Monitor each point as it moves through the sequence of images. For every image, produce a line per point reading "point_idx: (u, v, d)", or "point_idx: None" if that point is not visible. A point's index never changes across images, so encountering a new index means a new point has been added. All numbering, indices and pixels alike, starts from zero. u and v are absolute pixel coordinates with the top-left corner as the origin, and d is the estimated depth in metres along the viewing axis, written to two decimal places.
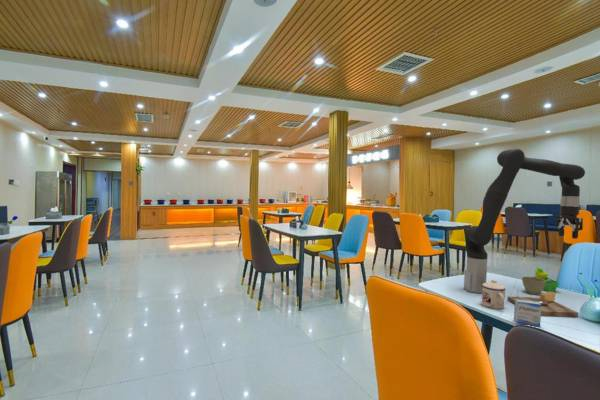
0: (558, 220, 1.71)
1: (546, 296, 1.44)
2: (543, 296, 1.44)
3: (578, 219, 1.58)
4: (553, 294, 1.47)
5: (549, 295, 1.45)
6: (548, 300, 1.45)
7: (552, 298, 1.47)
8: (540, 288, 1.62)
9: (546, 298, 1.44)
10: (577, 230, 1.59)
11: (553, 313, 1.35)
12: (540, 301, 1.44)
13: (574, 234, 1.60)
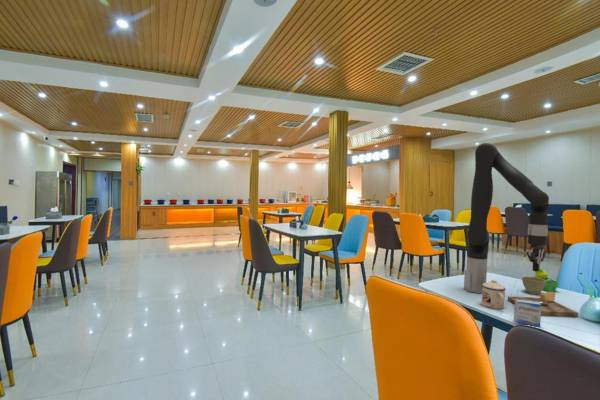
0: None
1: (546, 296, 1.44)
2: (543, 296, 1.44)
3: None
4: (553, 294, 1.47)
5: (549, 295, 1.45)
6: (548, 300, 1.45)
7: (552, 298, 1.47)
8: (540, 288, 1.62)
9: (546, 298, 1.44)
10: None
11: (553, 313, 1.35)
12: (540, 301, 1.44)
13: None
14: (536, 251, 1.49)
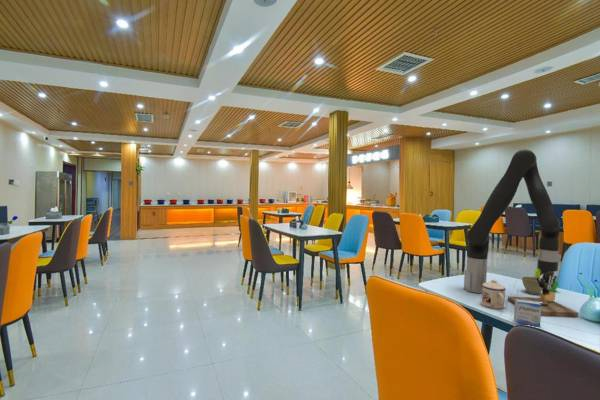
0: None
1: (546, 296, 1.44)
2: (543, 296, 1.44)
3: None
4: (553, 294, 1.47)
5: (549, 295, 1.45)
6: (548, 300, 1.45)
7: (552, 298, 1.47)
8: (540, 288, 1.62)
9: (546, 298, 1.44)
10: None
11: (553, 313, 1.35)
12: (540, 301, 1.44)
13: None
14: (546, 277, 1.47)
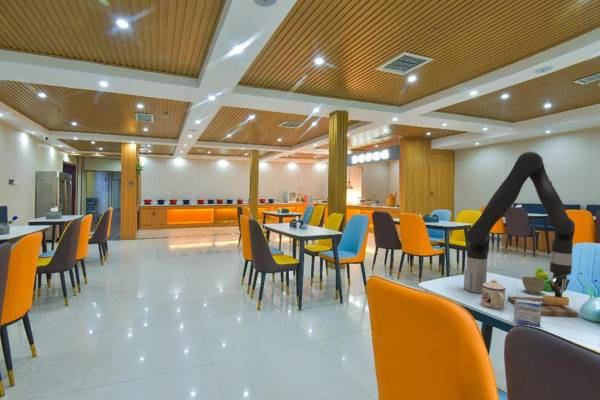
0: None
1: (548, 297, 1.42)
2: (544, 297, 1.43)
3: None
4: (564, 299, 1.41)
5: (555, 298, 1.42)
6: (553, 303, 1.42)
7: (562, 303, 1.41)
8: (540, 288, 1.62)
9: (549, 299, 1.42)
10: None
11: (553, 313, 1.35)
12: (539, 301, 1.44)
13: (561, 296, 1.44)
14: (559, 280, 1.42)
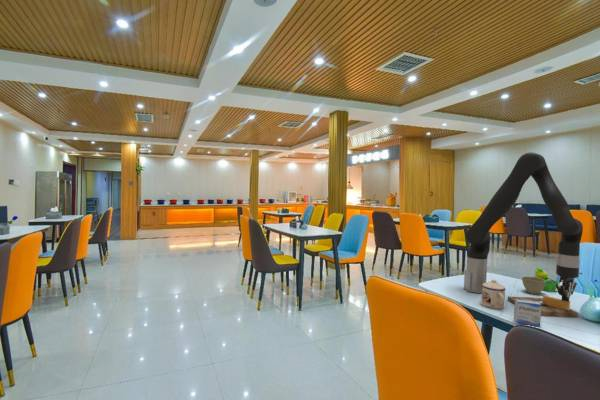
0: None
1: (547, 298, 1.41)
2: None
3: None
4: (564, 302, 1.36)
5: (554, 300, 1.39)
6: (552, 304, 1.40)
7: (562, 306, 1.37)
8: (540, 288, 1.62)
9: (547, 300, 1.41)
10: None
11: (553, 313, 1.35)
12: (538, 300, 1.44)
13: (568, 300, 1.39)
14: (566, 284, 1.37)
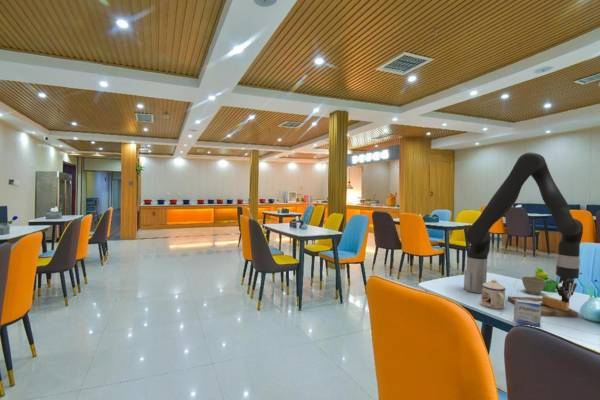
0: None
1: (546, 298, 1.41)
2: None
3: None
4: (562, 303, 1.36)
5: (552, 300, 1.39)
6: (551, 304, 1.40)
7: (560, 306, 1.37)
8: (540, 288, 1.62)
9: (546, 300, 1.41)
10: None
11: (553, 313, 1.35)
12: (538, 300, 1.45)
13: (568, 301, 1.38)
14: (566, 285, 1.36)
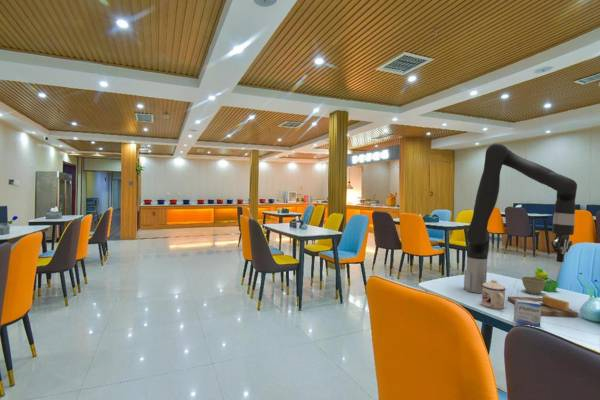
0: None
1: (546, 298, 1.41)
2: None
3: None
4: (562, 303, 1.36)
5: (552, 300, 1.39)
6: (550, 304, 1.40)
7: (560, 306, 1.37)
8: (540, 288, 1.62)
9: (546, 300, 1.41)
10: None
11: (553, 313, 1.35)
12: (539, 300, 1.45)
13: (563, 257, 1.45)
14: (561, 241, 1.43)
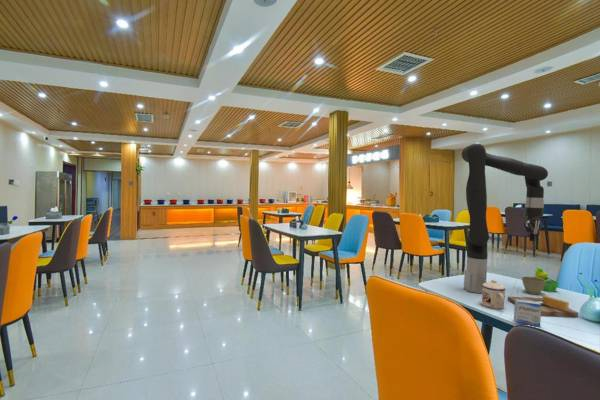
0: None
1: (546, 298, 1.41)
2: None
3: None
4: (562, 303, 1.36)
5: (552, 300, 1.39)
6: (550, 304, 1.40)
7: (560, 306, 1.37)
8: (540, 288, 1.62)
9: (546, 300, 1.41)
10: None
11: (553, 313, 1.35)
12: (539, 300, 1.45)
13: None
14: (533, 222, 1.61)
